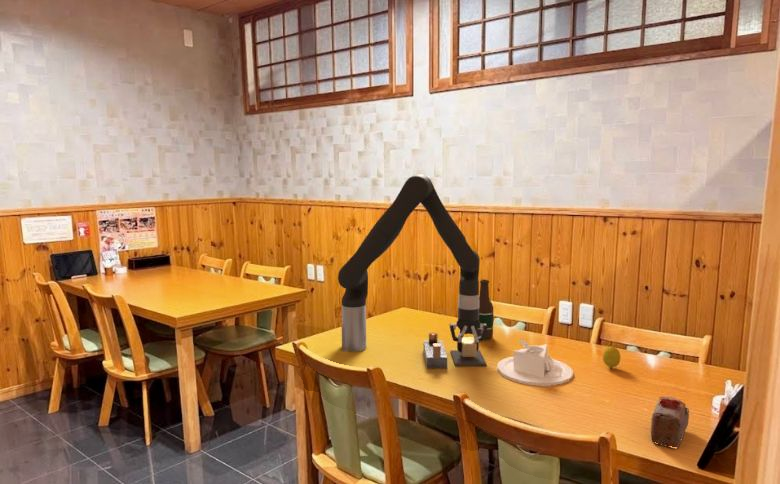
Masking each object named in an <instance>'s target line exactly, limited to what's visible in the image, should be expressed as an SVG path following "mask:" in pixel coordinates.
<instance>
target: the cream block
mask: <svg viewBox="0 0 780 484" xmlns="http://www.w3.org/2000/svg"><path fill="white" fill-rule="evenodd" d="M461 354H462V357H476V354H477V344H476V342H475V339H474V336H467V337H466V336H465V337H463V338H462V341H461Z"/></svg>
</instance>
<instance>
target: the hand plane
mask: <svg viewBox="0 0 780 484" xmlns="http://www.w3.org/2000/svg"><path fill="white" fill-rule="evenodd" d="M423 354H424V355H423V356H424V360H425V365H426V366H425V367H426V369H428V370H429V369H432V370H433V369H434V370H435V369H442V370H443V369H448V356H447V352H446V349H445V346H444V342H443V340H438V333H436V332H430V333H428V340H423Z"/></svg>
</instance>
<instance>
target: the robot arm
mask: <svg viewBox="0 0 780 484" xmlns="http://www.w3.org/2000/svg"><path fill="white" fill-rule="evenodd" d="M395 197H396V198H395V200H393V202H392V204H391V205H390V206H389V207H388V208H387V209H386V210H385V211H384V212H383V214H382V215H381V216H380V217H379V218H378V220H377V221H376V223H375V224H374V225H373V227H371V229H370V231H369V232H368V234H367V235H366V236H365V238H364V239H363V241H362V242H361V244H360V245H359V247H358V249H357V250H356V251H355V253H354V254H353V255H352V256H351V257H350V258H349V259H348V260H347V261H346V263H345V264H344V265H342V267H341V268H340V269H339V271H338V275H337V281H338V284H339V286H340V287H342V288H343V289H345V291H344V293H343V295H342V297H341V351H346V352H351V353H352V352H361V351H364V350H366V349H367V299H368V298H367V297H368V295H369V294H368V293H369V273H368V269H369V268H370V267H371V265H372V264H373V263H374V262H375V261H377V260H378V258H380V257H381V256H382V255H383V254H384V253H385V252H387V250H388V249H389V248H390V247H391V246H392V245H393V243H394V242H395V240H396V239H397V238H398V236H399V235H400V233H401V231H402V230H403V228H404V226H405V224H406V223H407V222H406V221H407V220H408V218H409V216H410V215H411V214H412V213H413V211H414V210H415V209H416V208H417V207H418V206H419V205H420V204H421V205H422V206H423V208H424V209H425V210H426V212H427V213H428V215H429V217H430V219H431V221H432V223H433V225H434V227H435V230H436V231H437V233H438V235H439V236H440V238H441V239H442V241H443V242H444V244H445V245H446V246H447V248H448V249H449V250H450V252H451V254H452V255H453V257H454V259H455V261H456V263H457V265H458V266H459V267H460V269H459V270H460V274H459V283H458V298H457V321H456V322H455V323H449V324H448V326H449V329H450V330H449V331H450V335H451V337H452V340H453V342H456V344H457V345H456V347H457V348H456V350H458V351H459V352H461V341H462V338H463V337H464V336H465V335H472V337H473V338H474V340H475V342H476V344H477V351H478V350H480V348H479V347H480V345H479V343H480V342H484V341H485V340H484V338H485V335H486V331H487V328H488V326H487V325H486V324H485V323H484V324H482V323H480V322H479V296H480V280H479V276H480V275H479V274H480V262H481V260H480V256H479V253H477V251H475V250H473V249H472V248H471V245H469V243H468V241H467V239H466V237H465V235H464V234H463V232H462V230H461V229H460V227H459V226H458V225H457V223H456V222H455V220H454V219H453V218H452V216H451V215H450V213H449V212H448V210H447V209H446V206H444V204H443V202H442V200H441V198H440V197H439V195H438V193H437V190H436V189H435V186H434V184H433V182H432V180H431V178H430V177H428V176H427V175H426V174H422V173H420V174H419V173H418V174H415V175H412V176H410V177H408V178H407V179H406V181H405V182H404V184H403V186H402V187H401V189H400V191H399V193H398V194H397V196H395ZM479 327H481V334H480V337H478V336H477V333H476V330H477V329H478V328H479ZM457 328H458V329H459V332H458V335H456V333H455V331H456V329H457Z"/></svg>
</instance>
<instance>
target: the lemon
mask: <svg viewBox="0 0 780 484" xmlns="http://www.w3.org/2000/svg"><path fill="white" fill-rule="evenodd" d="M602 361H603V363H604V364H605V366H607V367H608V368H609V369H613V368H616V367H618V365H620V362H621V353H620V351H619V349H618V348H617V347H615V346H614V345H610V346H608V347H607V348H605V349H604V351H603V354H602Z"/></svg>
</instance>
